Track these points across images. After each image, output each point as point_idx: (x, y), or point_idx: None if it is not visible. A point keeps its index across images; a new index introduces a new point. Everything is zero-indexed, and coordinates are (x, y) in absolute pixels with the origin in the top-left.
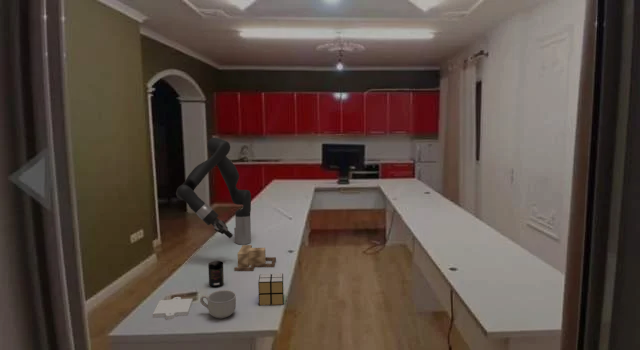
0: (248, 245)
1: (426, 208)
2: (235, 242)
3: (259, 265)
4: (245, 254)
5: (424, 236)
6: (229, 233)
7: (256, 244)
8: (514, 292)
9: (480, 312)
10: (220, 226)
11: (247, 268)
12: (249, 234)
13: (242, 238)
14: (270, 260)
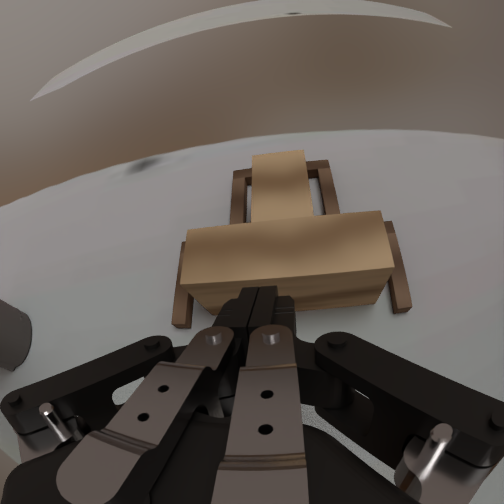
0: (193, 245)
1: (34, 96)
2: (13, 367)
3: (338, 209)
4: (381, 223)
5: (140, 48)
6: (274, 309)
7: (41, 290)
8: (359, 4)
9: (421, 20)
10: (334, 441)
11: (398, 245)
12: (1, 301)
13: (12, 332)
14: (246, 192)
